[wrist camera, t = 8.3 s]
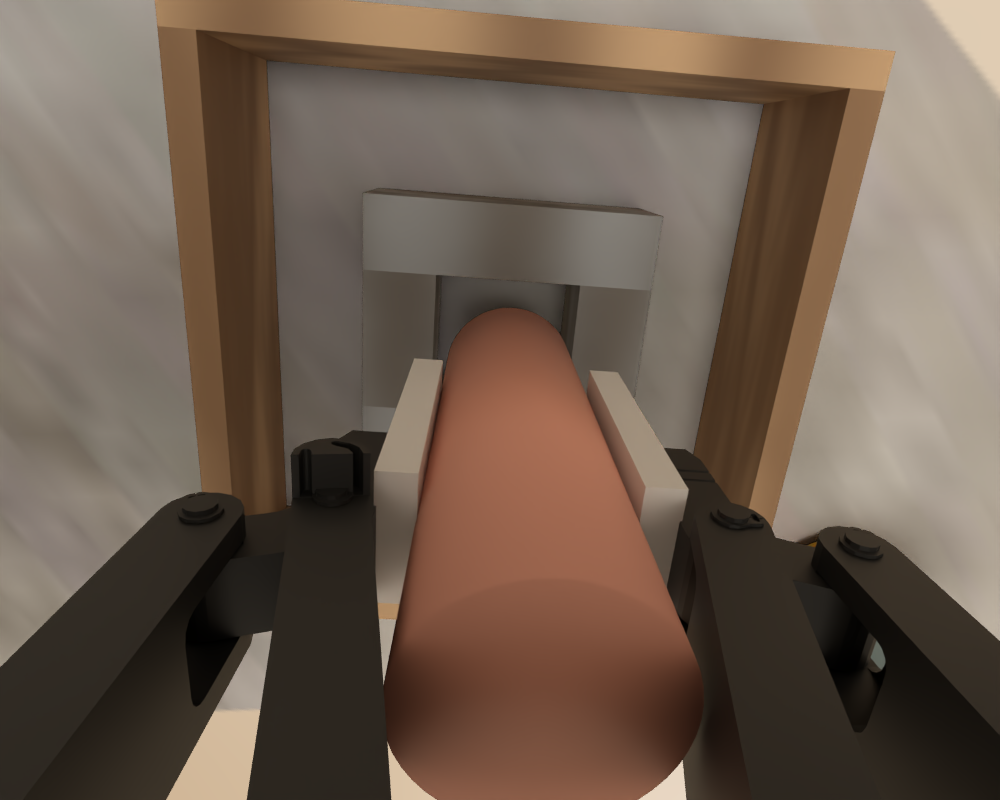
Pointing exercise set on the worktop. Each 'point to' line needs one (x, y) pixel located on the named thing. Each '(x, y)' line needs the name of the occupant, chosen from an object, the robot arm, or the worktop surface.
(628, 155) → the worktop surface
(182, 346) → the worktop surface
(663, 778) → the peg
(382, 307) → the crate
